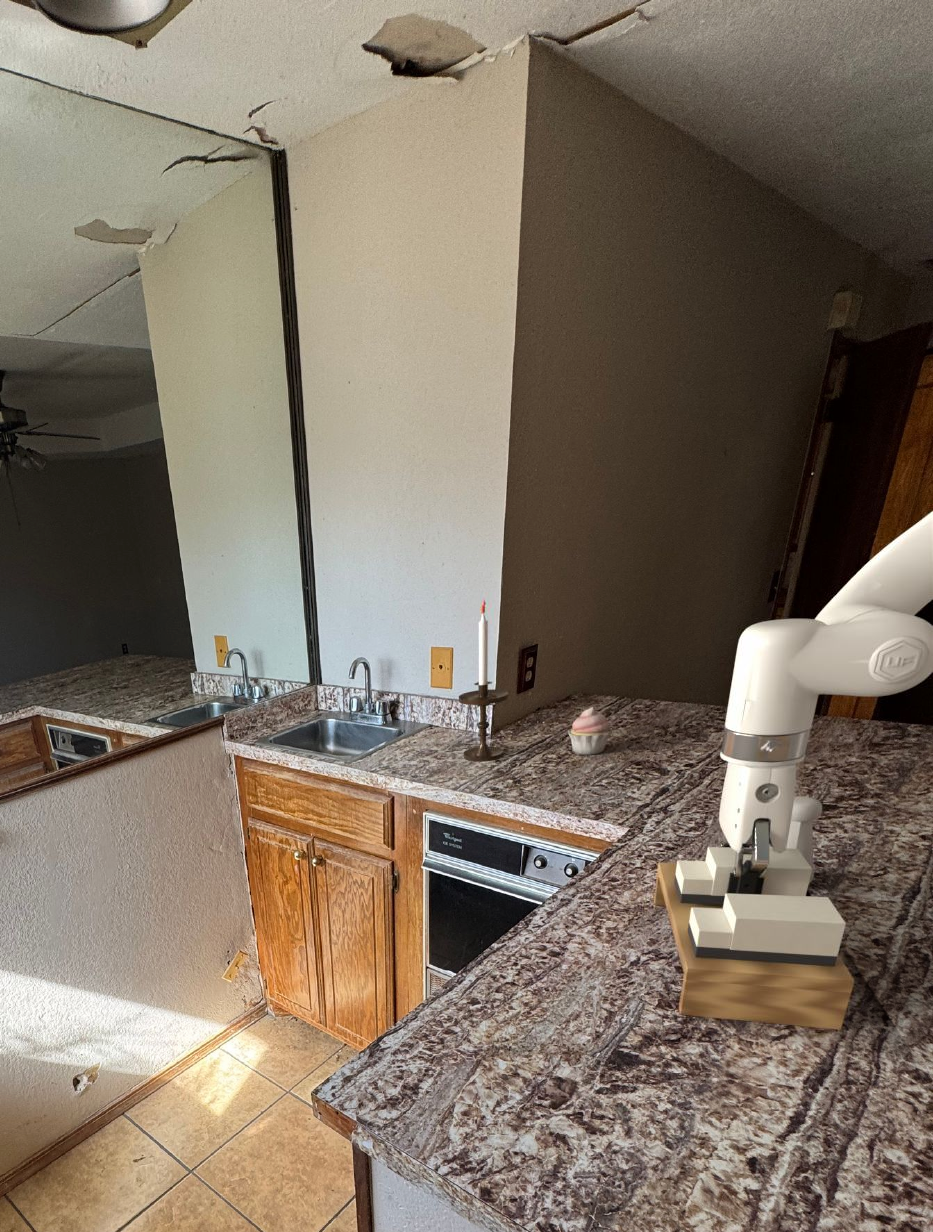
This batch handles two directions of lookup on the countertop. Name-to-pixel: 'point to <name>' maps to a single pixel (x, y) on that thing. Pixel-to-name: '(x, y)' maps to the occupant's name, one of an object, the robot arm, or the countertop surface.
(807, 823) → the salt shaker
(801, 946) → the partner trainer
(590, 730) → the cupcake
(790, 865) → the trainer
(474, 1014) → the countertop surface
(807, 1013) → the shoe shelf
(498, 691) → the candlestick
